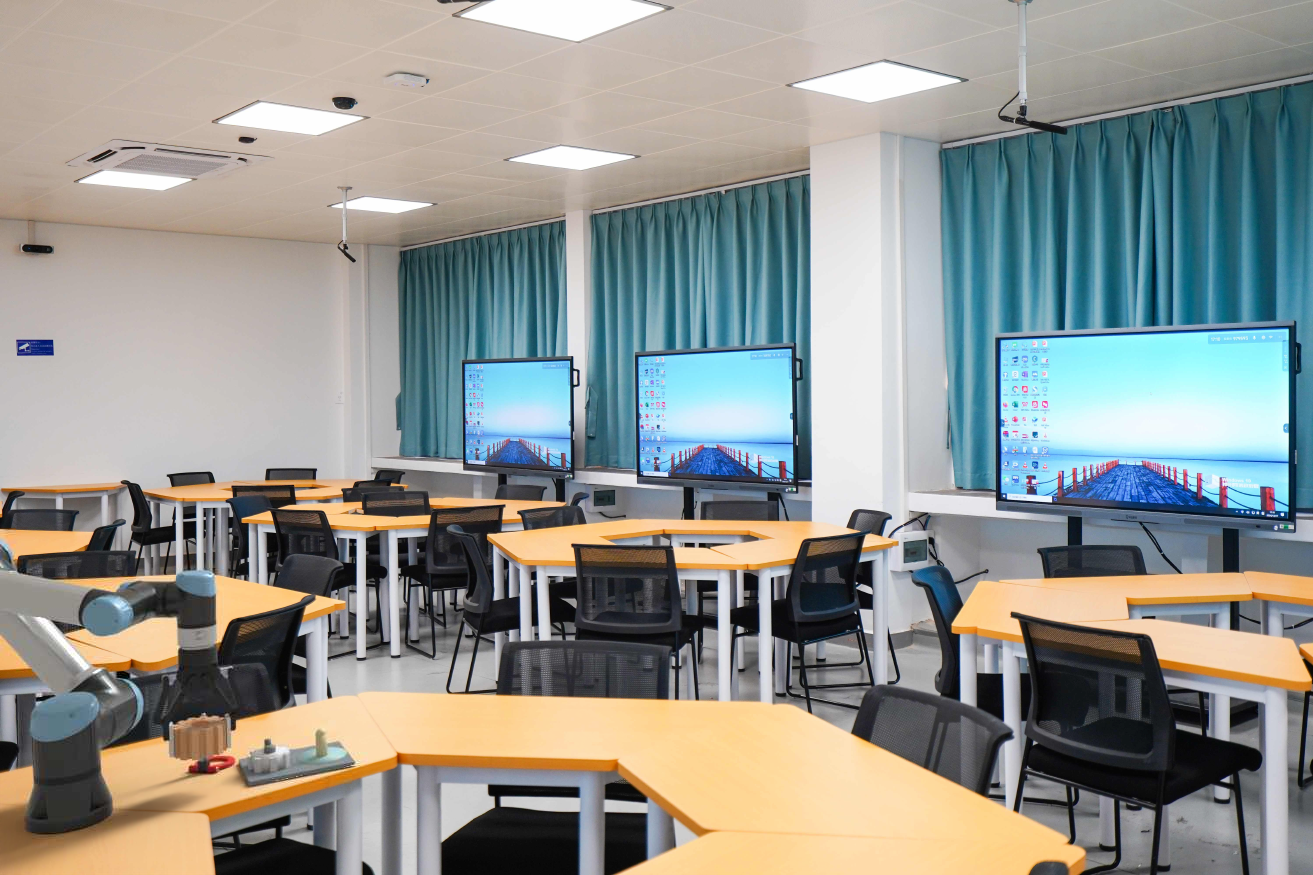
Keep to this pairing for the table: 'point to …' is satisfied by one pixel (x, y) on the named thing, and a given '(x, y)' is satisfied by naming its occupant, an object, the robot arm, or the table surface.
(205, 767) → the tow hook
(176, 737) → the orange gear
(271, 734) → the table surface
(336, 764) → the gear board
